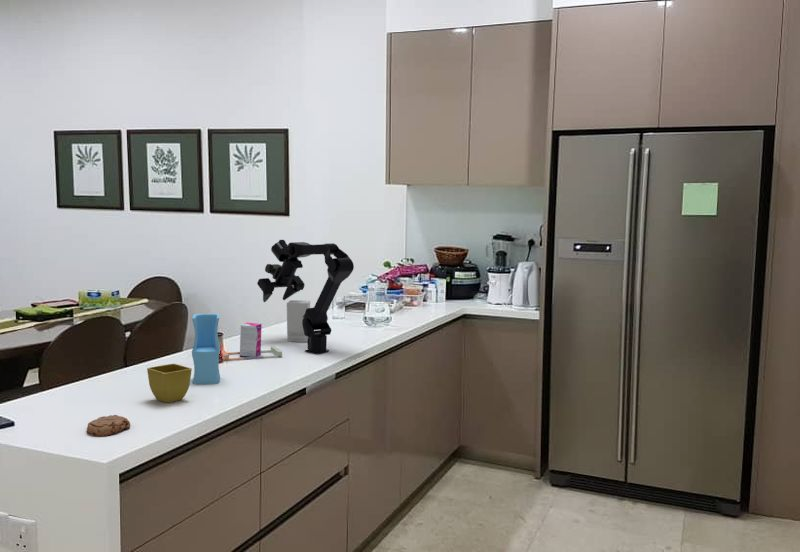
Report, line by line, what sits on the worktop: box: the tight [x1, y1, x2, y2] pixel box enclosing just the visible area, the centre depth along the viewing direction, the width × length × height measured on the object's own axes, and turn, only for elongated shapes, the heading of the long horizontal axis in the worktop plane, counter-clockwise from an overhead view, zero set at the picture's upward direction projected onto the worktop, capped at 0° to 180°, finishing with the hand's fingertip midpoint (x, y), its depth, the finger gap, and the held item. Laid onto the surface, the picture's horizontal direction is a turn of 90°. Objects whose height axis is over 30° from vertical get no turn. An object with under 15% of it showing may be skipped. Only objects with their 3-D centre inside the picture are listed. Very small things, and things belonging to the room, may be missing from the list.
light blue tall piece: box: [191, 313, 221, 385], centre depth 223 cm, size 8×8×20 cm
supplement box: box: [239, 322, 262, 358], centre depth 258 cm, size 6×6×12 cm
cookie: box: [86, 414, 131, 438], centre depth 176 cm, size 10×11×3 cm
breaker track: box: [221, 345, 283, 362], centre depth 258 cm, size 20×10×2 cm, turn 114°
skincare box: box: [286, 300, 311, 343], centre depth 286 cm, size 8×7×16 cm
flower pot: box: [146, 363, 192, 404], centre depth 202 cm, size 9×9×9 cm
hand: (273, 300), depth 285 cm, fingers open, 9 cm apart
